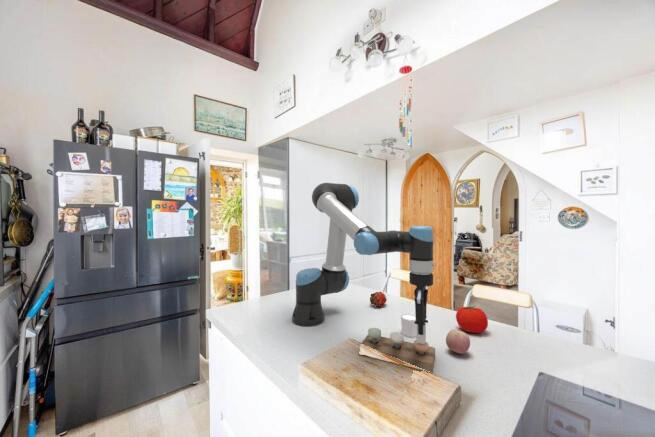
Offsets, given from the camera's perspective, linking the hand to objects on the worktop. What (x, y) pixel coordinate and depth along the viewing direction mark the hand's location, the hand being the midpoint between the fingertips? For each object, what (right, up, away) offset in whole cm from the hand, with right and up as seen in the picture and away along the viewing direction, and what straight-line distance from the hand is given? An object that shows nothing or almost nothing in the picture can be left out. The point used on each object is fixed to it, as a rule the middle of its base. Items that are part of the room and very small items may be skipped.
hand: (421, 342), depth 87 cm
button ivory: (-7, -5, +4) cm, 9 cm away
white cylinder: (+2, -6, +21) cm, 22 cm away
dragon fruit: (-4, -6, +55) cm, 56 cm away
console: (-7, -6, +4) cm, 10 cm away
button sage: (-14, -5, +7) cm, 17 cm away
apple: (+15, -7, +5) cm, 17 cm away
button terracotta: (0, -6, 0) cm, 6 cm away
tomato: (+30, -6, +24) cm, 39 cm away
